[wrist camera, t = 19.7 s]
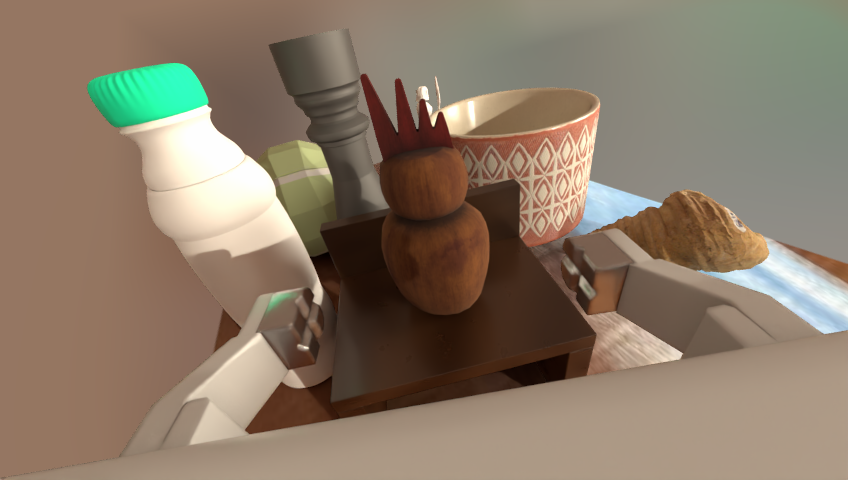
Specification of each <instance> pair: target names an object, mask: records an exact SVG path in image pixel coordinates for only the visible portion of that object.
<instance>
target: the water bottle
mask: <svg viewBox="0 0 848 480" xmlns="http://www.w3.org/2000/svg"><path fill="white" fill-rule="evenodd" d="M87 88H88V93H89V95H90V98H91V99H92V101H93V102H94V104H95V106H96V107H97V108H98V109H99V111H100V112H101V114H102V115H103V116H104V117H105V118H106V119H107V121H108V122H109V123H110V124H111V125H113V126H114V127H118V128H119V129H120V132H119V133H120V134H122V135H125V136H127V137H129V138H131V139H132V140H133V141H134V142H135V143H136V144H137V145H138V146H139V148H140V150H141V153H142V175H143V179H144V181H145V183H146V185H147V187H148V189H147V201H148V208H149V213H150V215H151V218H152V220H153V222H154V223H155V225H156V226H157V227H158V228H159V229H160V230H161V232H163V233H164V234H165V235H166V236H168V237H170V238H172V239H173V240H174V242H175V243H176V245H177V247H178V248H179V250H180V252H181V253H182V255H183V256H184V258H185V259H186V261H187V262H188V264H189V265H190V266H191V268H192V269H193V271H194V272H195V273H196V275H197V276H198V277H199V279H200V280H201V281H202V283H203V284H204V285H205V287H206V288H207V289H208V290H209V291H210V293H211V294H212V295H213V297H214V298H215V299H216V300H217V301H218V302H219V304H220V305H221V306H222V307H223V309H224V310H225V311H226V312H227V313H228V314H229V315H230V316H231V317H232V319H233V320H234V321H235V322H236V323H237V324H238V325H239V326H240V327H241V328H242V326H243V324H244V322H245V320H246V318H247V317H248V315H249V313H250V311H251V309H252V307H253V305H254V303H255V301H256V299H257V297H259V296H260V295H263V294H269V293H276V292H279V291H286V290H292V289H298V288H304V287H308V288H310V289H311V291H312V292H313V294H314V298H313V302H315V303H316V304H318V305H320V307H321V309H322V311H323V315H324V331H323V334H322V335H321V336H320V337H319V339H318V340H317V341H318V343H319V345H320V348H319V352H318V357H317V361H316V364H315V365H310V366H305V367H300V368H296V369H291V370H289V372H288V373H287V375H286V376H285V377H284V379H283V380H282V382H283V383H284V384H286V385H287V386H290V387H293V388H307V387H311V386H314V385H317V384H319V383H321V382H323V381H325V380H326V379H328V378H329V377H330V376H332V375H333V364H334V353H335V341H336V330H337V319H338V316H337V314H336V312H335V309H334V306H333V303H332V301H331V299H330V297H329V295H328V294H327V292H326V291H325V289H324V288H323V287H322V286H321V284H320V281H319V278H318V275H317V273H316V270H315V268H314V265H313V263H312V261H311V259H310V257H309V254H308V252H307V250H306V248H305V246H304V244H303V242H302V240H301V238H300V236H299V234H298V232H297V230H296V229H295V227H294V225H293V223H292V221H291V219H290V218H289V216H288V214H287V212H286V211H285V209H284V207H283V206H282V204H281V203H280V201H279V200H278V198H277V197H276V190H275V186H274V183H273V181H272V179H271V177H270V176H269V174H268V173H267V172H266V171H265V170H264V169H263V168H262V167H261V166H260V165H259V164H258V163H256V162H255V161H254V160H253V159H252V158H250V157H249V156H247V155H245V154H243V152H242V150H241V149H240V148H239V147H238V146H237V145H236V144H235V143H234V142H232V141H231V140H229V139H228V138H226V137H225V136H223V135H222V134H221V133H219V132H218V131H217V130H216V129H215V127H214V126H213V124H212V122H211V120H210V112H211V108H209V107H208V106H207V104H208V98H207V96H206V94H205V91H204V89H203V87H202V86H201V84H200V82H199V80H198V79H197V77H196V75H195V74H194V73H193V72H192V70H190V69H189V68H188V67H187V66H185V65H183V64H178V63H168V64H160V65H153V66H148V67H142V68H137V69H132V70H127V71H122V72H117V73H112V74H109V75H105V76H101V77H98V78H95V79H93V80H92V81H91V82H89V84H88V86H87Z"/></svg>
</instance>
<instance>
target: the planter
mask: <svg viewBox="0 0 848 480" xmlns="http://www.w3.org/2000/svg"><path fill="white" fill-rule="evenodd" d="M599 109H600V101H599V99H598V98H597V97H596V96H595V95H593V94H591V93H589V92H585V91H581V90H575V89H567V88H529V89H518V90H509V91H502V92H496V93H490V94H485V95H480V96H476V97H473V98H468V99H465V100H462V101H458V102H455V103H453V104H450V105H447V106H445V107H443V108H441V109H439V110H437V111H435V112H434V113H432V114H431V115H430V116H429V117H430V120H431V124H432V126H434V125H435V122H436V118H437V115H438V113H439V112H440V111H441V112H443V114H444V117H445V120H446V123H447V126H448V129H449V133H450V136H451V140H452V144H453V146H454V147H455V148H456V149H457V150H458V151H459V152H460V154H461V156H462V158H463V160H464V162H465V165H466V167H467V173H468V189H472V188H476V187H480V186H484V185H489V184H493V183H497V182H502V181H506V180H510V179H515V180H516V181H517V182H518V183H519V184H520V235H519V236H520V237H521V238H522V240H523V241H524V242H525V244H526V245H527V246H528V247H532V246H537V245H541V244H545V243H548V242H551V241H554V240H556V239H558V238H560V237H563V236H564V235H566V234H567V233H569V232H570V231H572V230H573V229H574V228H575V227H576V226H577V225H578V224H579V222H580V221H581V219H582V217H583V214H584V209H585V202H586V195H587V189H588V182H589V175H590V169H591V162H592V155H593V149H594V142H595V136H596V129H597V123H598V116H599Z"/></svg>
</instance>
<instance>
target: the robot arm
mask: <svg viewBox="0 0 848 480" xmlns="http://www.w3.org/2000/svg"><path fill="white" fill-rule="evenodd" d="M563 250H564V251H565V253H566V255H565V257H564V258H563V259H562V260H561V271H562V277H563V279H564V281H565V283H566V285H567V286H568V288H569V289H571V290H573V291H575V292H577V296H576V300H577V301H578V303H579V304H580V305H581V307H582V308H583V310H584V311H585V313H586V314H587V315H593V314H600V313H606V312H613V311H617V313H618V314H620V315H621V316H623V317H625V318H626V319H628V320H630V321H631V322H633V323H635V324H636V325H638V326H639V327H641V328H643V329H644V330H646V331H648V332H649V333H651V334H653V335H654V336H656V337H657V338H659V339H661V340H662V341H664V342H666V343H667V344H669V345H671V346H672V347H674V348H675V349H677V350H679V351H680V352H682V353H683V355H682V357H681V359H680V360H674V361H668V362H663V363H657V364H651V365H646V366H640V367H634V368H628V369H623V370H617V371H611V372H605V373H600V374H594V375H588V376H583V377H577V378H571V379H565V380H560V381H554V382H548V383H543V384H537V385H531V386H526V387H520V388H514V389H509V390H503V391H497V392H491V393H486V394H480V395H474V396H469V397H463V398H457V399H451V400H445V401H440V402H434V403H428V404H422V405H417V406H411V407H405V408H399V409H394V410H388V411H382V412H376V413H371V414H365V415H359V416H353V417H348V418H342V419H336V420H331V421H325V422H319V423H313V424H308V425H302V426H296V427H290V428H285V429H279V430H273V431H267V432H262V433H256V434H248V433H247V432H246V431H245V429H246V428H247V426H248V425H249V424H250V422H251V421H252V420H253V418H254V417H255V416H256V414H257V413H258V412H259V410H260V409H261V408H262V406H263V405H264V404H265V402H266V401H267V400H268V399H269V397H270V396H271V395H272V393H273V392H274V391H275V389H276V388H277V387H278V385H279V384H280V383H281V381H282V380H283V379H284V377H285V376H286V375H287V373H288V372H289V370H291V369H296V368H300V367H305V366H310V365H315V364H316V361H317V357H318V352H319V348H320V345H319V343H318V341H317V340H318V339H319V337H320V336H321V335H322V334H323V331H324V315H323V311H322V309H321V307H320V305H318V304H316V303H315V302H313V298H314V294H313V292H312V291H311V289H310V288H308V287H304V288H298V289H292V290H286V291H279V292H276V293H269V294H263V295H260V296H259V297H257V299H256V301H255V303H254V305H253V307H252V309H251V311H250V313H249V315H248V317H247V318H246V320H245V322H244V324H243V326H242V328H241V330H240V332H239V334H238V336H237V337H233V338H231V339H230V340H229V341H228V342H226V343H225V344H224V345H223V346H222V347H220V348H219V349H218V350H217V351H216V352H215V353H213V354H212V355H211V356H210V357H209V358H207V359H206V360H205V361H204V362H203V363H202V364H200V365H199V366H198V367H197V368H196V369H194V370H193V371H192V372H191V373H190V374H189V375H187V376H186V377H185V378H184V379H183V380H181V381H180V382H179V383H178V384H177V385H176V386H174V387H173V388H172V389H171V390H170V391H168V392H167V393H166V394H165V395H164V396H163V397H161V398H160V399H159V400H158V401H157V402H156V403H154V404H153V405H152V406H151V408H150V409H149V411H148V412H147V414H146V416H145V417H144V419H143V420H142V422H141V423H140V425H139V426H138V428H137V429H136V431H135V433H134V434H133V436H132V437H131V439H130V440H129V442H128V443H127V445H126V447H125V448H124V450H123V451H122V453H121V454H120V456H119V457H118V458H112V459H107V460H101V461H95V462H89V463H84V464H78V465H72V466H67V467H61V468H55V469H49V470H44V471H38V472H32V473H26V474H21V475H15V476H9V477H4V478H0V480H848V330H846V331H841V332H835V333H829V334H823V333H821V332H820V331H819V330H817V329H816V328H814V327H813V326H812V325H810V324H809V323H807V322H806V321H805V320H803V319H802V318H800V317H799V316H797V315H796V314H795V313H793V312H792V311H790V310H789V309H788V308H786V307H785V306H783V305H782V304H781V303H779V302H778V301H776V300H775V299H773V298H772V297H771V296H769V295H766V294H763V293H760V292H757V291H754V290H751V289H748V288H745V287H742V286H739V285H736V284H733V283H730V282H727V281H724V280H722V279H719V278H716V277H713V276H710V275H707V274H704V273H701V272H698V271H695V270H692V269H689V268H686V267H683V266H680V265H677V264H674V263H671V262H668V261H665V260H662V259H656V260H654V259H653V258H652V257H651V256H649V255H648V254H647V253H646V252H645V251H644V250H643V249H641V248H640V247H639V246H638V245H637V244H636V243H635V242H633V241H632V240H631V239H630V238H629V237H628V236H627V235H625V234H624V233H623V232H622V231H621V230H619V229H616V228H614V229H609V230H604V231H599V232H597V233H591V234H586V235H581V236H576V237H571V238H566V239H565V241H564V243H563Z"/></svg>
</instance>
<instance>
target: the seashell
mask: <svg viewBox="0 0 848 480" xmlns="http://www.w3.org/2000/svg"><path fill="white" fill-rule="evenodd" d="M614 228H616V229H619V230H621V231H622V232H623V233H624V234H625V235H627V236H628V237H629V238H630V239H631V240H632V241H633V242H635V243H636V244H637V245H638V246H639V247H640V248H641V249H643V250H644V251H645V252H646V253H647V254H648V255H649V256H651V257H652V258H653V259H654V260H656V259H662V260H665V261H668V262H671V263H674V264H677V265H680V266H683V267H686V268H689V269H692V270H695V271H697V270H703V271H705V272H721V273H725V272H730V271H734V270H744V269H751V268H753V267H754V266H755V265H758V264H760V263H762V262H763V261H764V260H765V259H766V258H767V257H768V255H769V250H768V248H767V243H766V241H765V240H764V238H763V237H762V235H760V234H759V233H754V232H752V231H751V230H750V229H749V228H748V227H747V226H746V225H744V224H743V223H742V222H741V220H740V219H739V218H738V217H737V216H736V215H735V214H734V213H733V212H732V211H730V210H729V209H727V208H725V207H724V206H722V205H720V204H718V203H716V202H715V201H714V200H713V199H711V198H710V197H707V196H705V195H703V194H702V193H701V192H695V191H691V190H683V191H677V192H674V193H672V194H670V197H668V198H666V199H665V200H664V202H663V205H662V206H661V207H659V208H656V207H647V208H646V209H645V210H643V211H639V212H638V214H637V215H635V216H633V217H629V216H625V217H623V218H622V219H618V220H617V221H616V222H615V223H614V224H608V225H607V226H603V227H602V228H601V229H596V230H595V231H592V232H591V233H597V232H599V231H604V230H609V229H614ZM591 233H588V234H591Z"/></svg>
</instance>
